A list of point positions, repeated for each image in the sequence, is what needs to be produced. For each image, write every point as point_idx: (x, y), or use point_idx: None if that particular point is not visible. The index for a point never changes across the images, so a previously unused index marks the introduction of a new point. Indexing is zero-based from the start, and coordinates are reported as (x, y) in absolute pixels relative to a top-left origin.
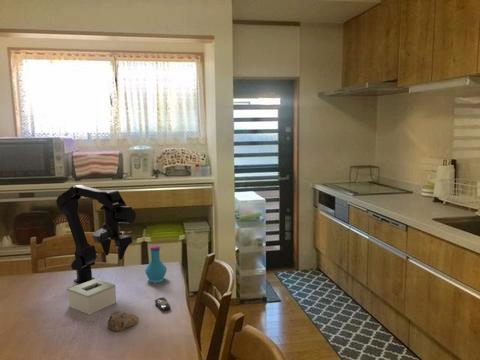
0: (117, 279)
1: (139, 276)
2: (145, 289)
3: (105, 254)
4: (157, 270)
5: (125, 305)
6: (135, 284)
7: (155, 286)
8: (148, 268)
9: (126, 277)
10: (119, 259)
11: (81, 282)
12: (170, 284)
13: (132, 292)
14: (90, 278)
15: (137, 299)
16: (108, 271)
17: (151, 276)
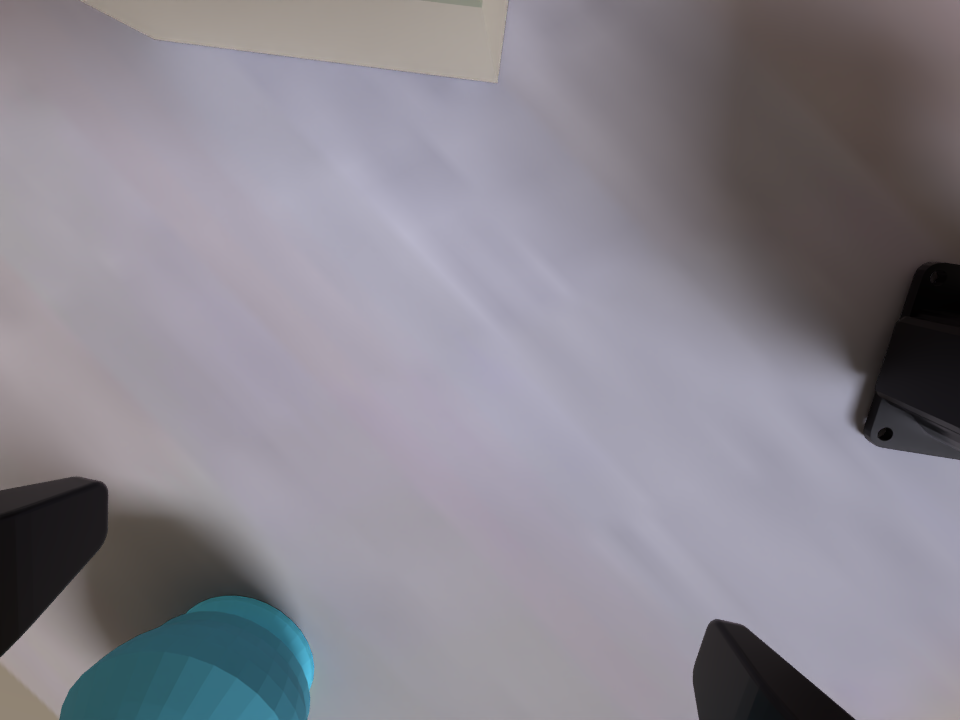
0: (606, 533)
1: (445, 668)
2: (152, 433)
3: (752, 639)
4: (70, 707)
5: (15, 25)
6: (331, 495)
7: (126, 524)
8: (173, 711)
9: (552, 607)
10: (81, 477)
11: (957, 272)
12: (48, 607)
13: (205, 322)
14: (895, 375)
15: (32, 204)
16: (874, 677)
17: (172, 624)
